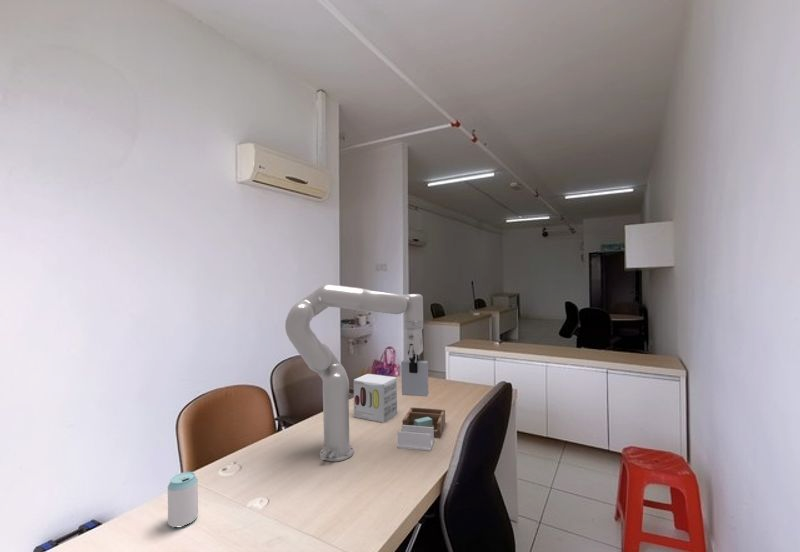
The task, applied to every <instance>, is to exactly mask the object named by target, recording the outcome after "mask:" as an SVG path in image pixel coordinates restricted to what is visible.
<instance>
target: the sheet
mask: <svg viewBox="0 0 800 552" xmlns="http://www.w3.org/2000/svg"><path fill="white" fill-rule="evenodd" d="M400 363H401V364H400V366H401V367H400V369H401V370H400V372H401V374H400V375H401V396H410V397H428V395H429V361H428V360H420V361H417V362H416V363H417V370H418V372H417V373H409V359H408V360H406V359H402V360H401V362H400Z"/></svg>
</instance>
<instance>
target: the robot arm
mask: <svg viewBox="0 0 800 552" xmlns="http://www.w3.org/2000/svg"><path fill="white" fill-rule="evenodd" d="M423 299H424V297H423V295H422V294H420V293H408V294H400V293H399V294H398V293H389V292H381V291H375V290H371V289H366V288H363V287H362V288H361V287H354V286H347V285H339V284H338V285H337V284H331V283H324V284H323V285H320V286H319V287H318V288H317V289H315V290H314V291H313V292H311V293H310V294H309V295H308V294H307V296H306V297H304V298H302V299H300V300H299V301H298V302H296V303H294V304H293V306H292V307H291V308H290V310H289V312H288V314H287V316H286V320H285V332H286V335H287V338H288V340H289V341H290V342H291V344H292V346H293V347H294V348H295V350H296V351H297V353H298V354H299V355H300V357H301V358H302V360H303V361H304V362H305V364H306V366H307V367H308V368H309V369H310V370H311V371H313V372H315V373H316V374H317V375H318V376H319V377H320V378H321V380H322V407H323V408H322V409H323V412H322V413H323V414H322V415H323V447H322V448H321V449H320V451H319V459H320V460H322V461H326V462H327V461H328V462H340V461H344V460H347V459H349V458H351V457H352V456H353V455H354V451H355V450H354V447H353V446H352V445H351V443H350V406H349V403H350V401H349V400H350V398H349V397H350V381H349V376H348V374H347V371H346V369H345V367H344V366H343V364H342V363H341V362H340V361H339V359H338V358H337V356H336V355H335V354H334V353H333V351H332V350H331V349H330V348H329V346H328V345H326V344H325V343H322V342H321V341H320V339H318V337H317V335H316V334H315V332H313V330H312V328H311V326H310V323H311V321H312V320H313V318H316V317H317V316H318V315H319V314H320V313H322V312H323V311H325V310H326V309H328V307H329V308H338V309H339V308H340V309H346V310H347V309H349V310H354V311H362V312H374V313H382V314H389V315H390V314H391V315H400V314H401V315H402V314H403V316H404V317H403V321H404V323H403V324H404V326H403V327H404V330H406V339H405V340H406V354H407V355H408V360H409V373H417V372H418V370H417V363H416V362H417V361H421V360H420V355H421V354H422V353H423V351H424V344H423V343H424V341H423V329H424V301H423Z"/></svg>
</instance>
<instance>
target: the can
mask: <svg viewBox="0 0 800 552" xmlns="http://www.w3.org/2000/svg"><path fill="white" fill-rule="evenodd" d="M198 480H199V479H198V477H197V476H196V473H195V472H193V471H184V472H180V473H178V474H175V475H174V476H172V477H171V479H170V482H169V484H168V486H167V525H168V524H169V525H170V526H173V527H172V528H174V527H177V526H183V525H186V524H189V523H190V524H192V523H193V522H194V521H195V520H196V519H197V518H198V515H199V490H198V489H199V487H198V486H199V485H198V484H199V481H198ZM192 521H193V522H192ZM191 522H192V523H191ZM190 524H189V525H190ZM169 525H168V526H169ZM170 526H169V527H170Z"/></svg>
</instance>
